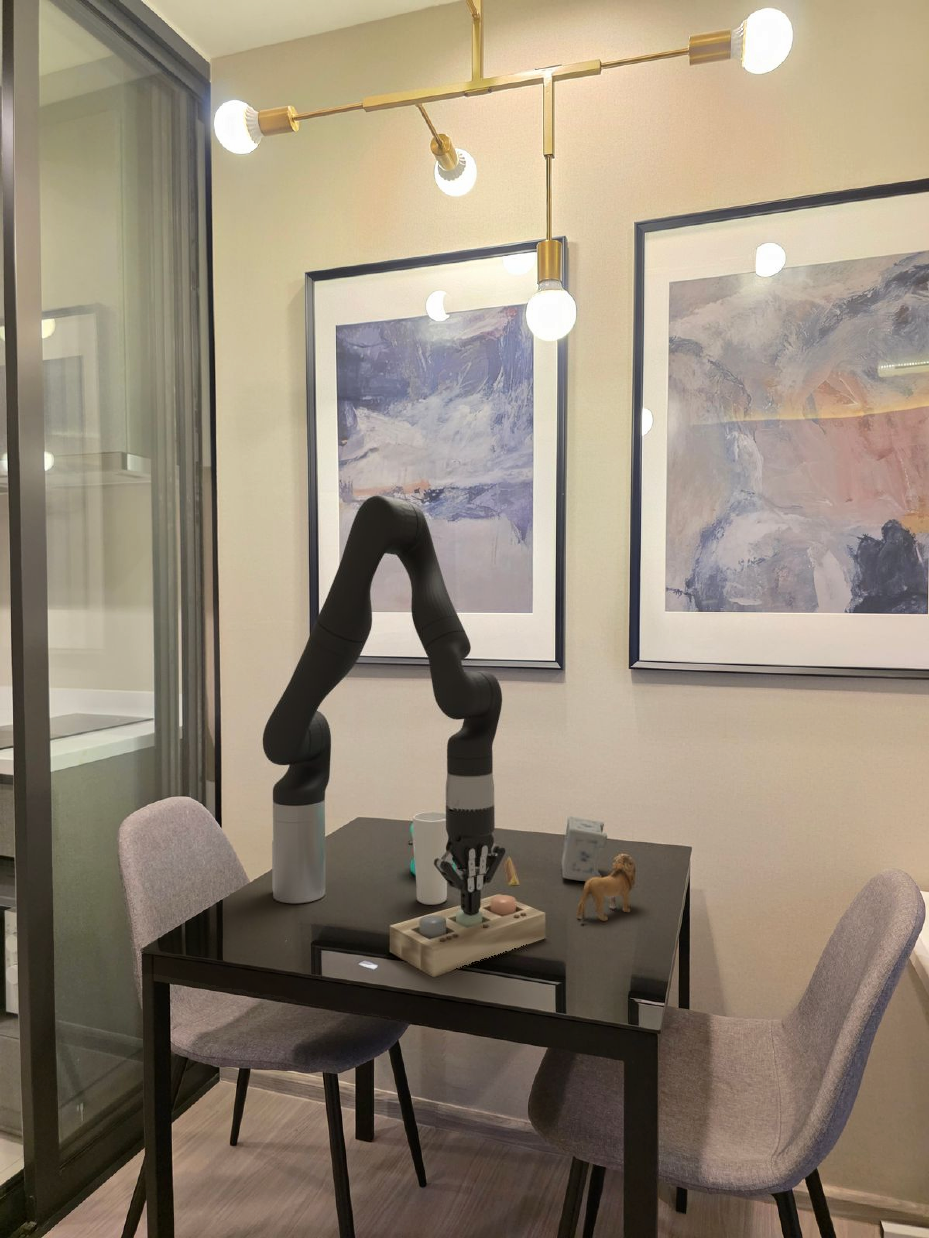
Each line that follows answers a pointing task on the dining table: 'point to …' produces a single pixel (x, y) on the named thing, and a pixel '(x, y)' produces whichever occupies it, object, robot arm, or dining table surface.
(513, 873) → the chocolate bar
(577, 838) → the incense holder
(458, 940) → the button panel
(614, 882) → the lion figurine
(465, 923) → the sage button
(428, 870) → the drinking glass
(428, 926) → the slate button
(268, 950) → the dining table surface
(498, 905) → the terracotta button
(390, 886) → the dining table surface
